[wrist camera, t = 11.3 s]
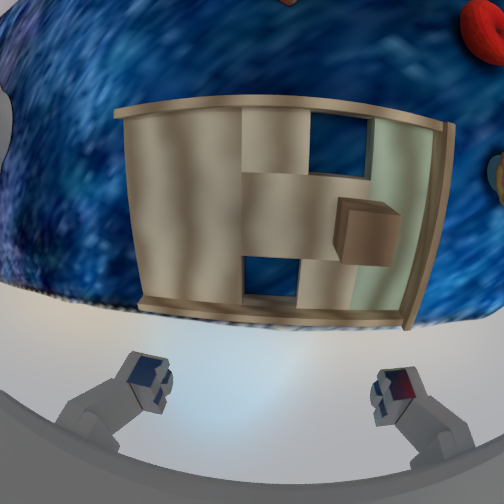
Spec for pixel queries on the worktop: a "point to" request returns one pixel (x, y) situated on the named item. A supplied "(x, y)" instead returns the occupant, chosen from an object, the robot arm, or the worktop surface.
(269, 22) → the worktop surface
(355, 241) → the walnut block
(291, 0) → the cracker box
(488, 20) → the apple
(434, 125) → the trap deck
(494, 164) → the cupcake
